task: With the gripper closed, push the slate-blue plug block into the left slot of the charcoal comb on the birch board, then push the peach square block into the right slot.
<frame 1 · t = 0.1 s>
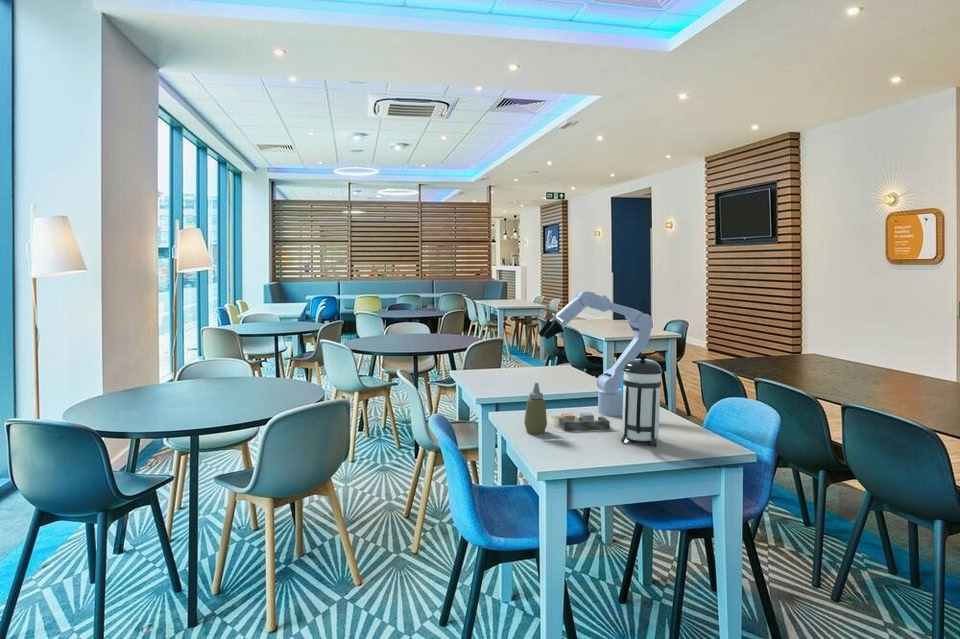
hand: (542, 336, 221), 32 cm above the table, tool tilted 50°, fingers open, 7 cm apart
peach square block: (567, 422, 212), resting on comb board
squeeze bottle: (535, 433, 199), on the table
slate-blue plug: (586, 421, 213), resting on comb board
coffee press: (640, 442, 190), on the table
comb board: (578, 424, 211), on the table
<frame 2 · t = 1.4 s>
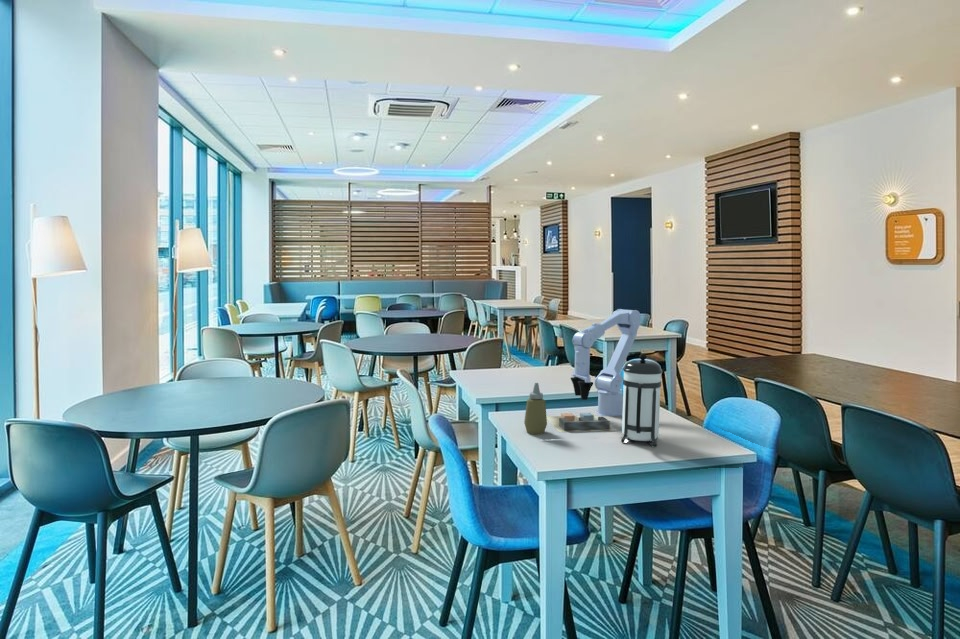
hand: (581, 397, 220), 8 cm above the table, tool pointing down, fingers open, 7 cm apart
nothing on the table moved.
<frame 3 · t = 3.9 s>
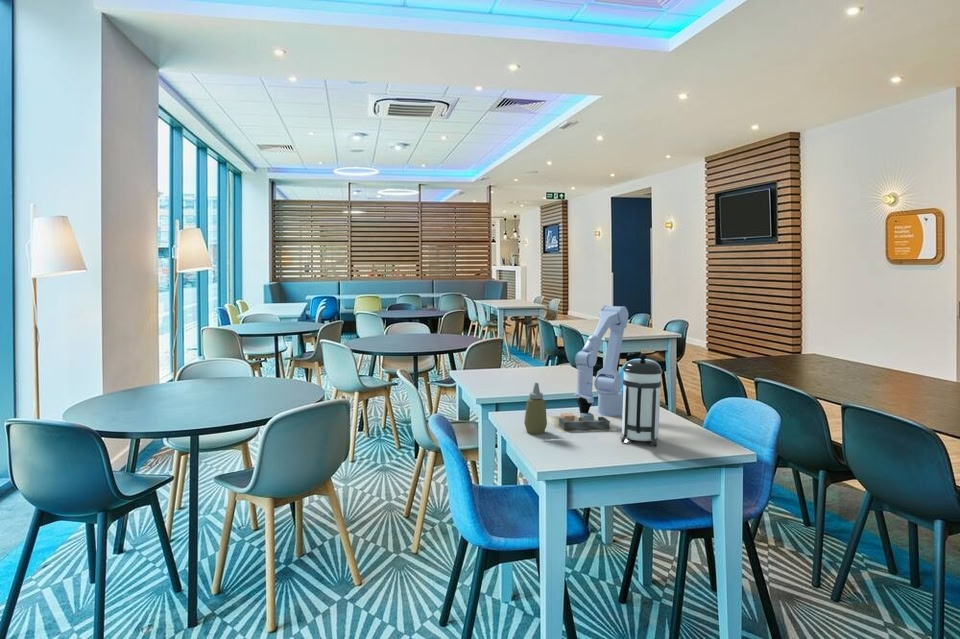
hand: (583, 417, 216), 2 cm above the table, tool pointing down, fingers closed
slate-blue plug: (586, 421, 213), point 1 cm above the table, touching comb board, gripper
everything else where it was.
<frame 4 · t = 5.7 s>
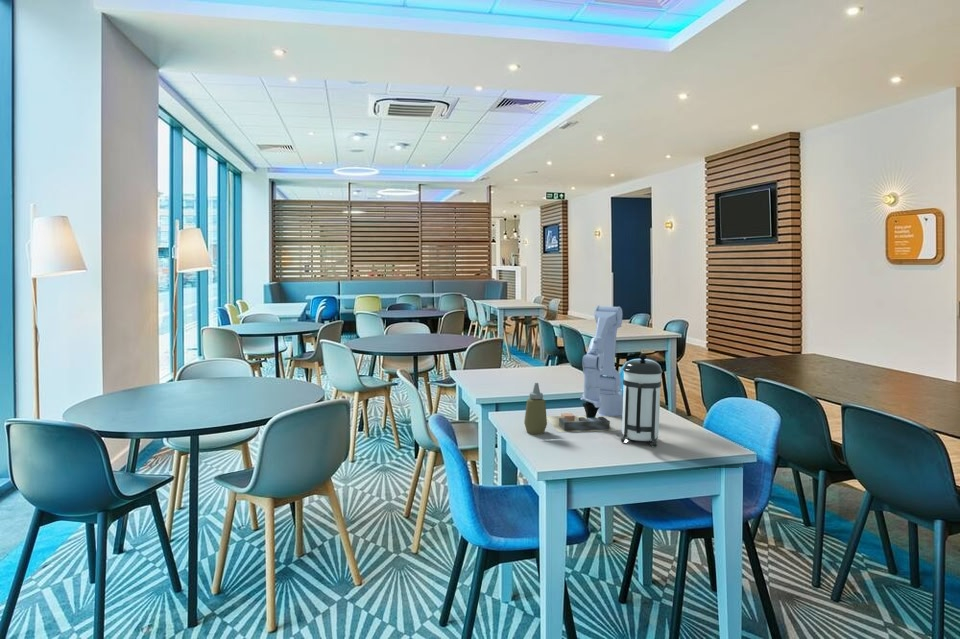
hand: (590, 422, 209), 2 cm above the table, tool pointing down, fingers closed
slate-blue plug: (593, 427, 206), resting on comb board, touching gripper
everything else where it was.
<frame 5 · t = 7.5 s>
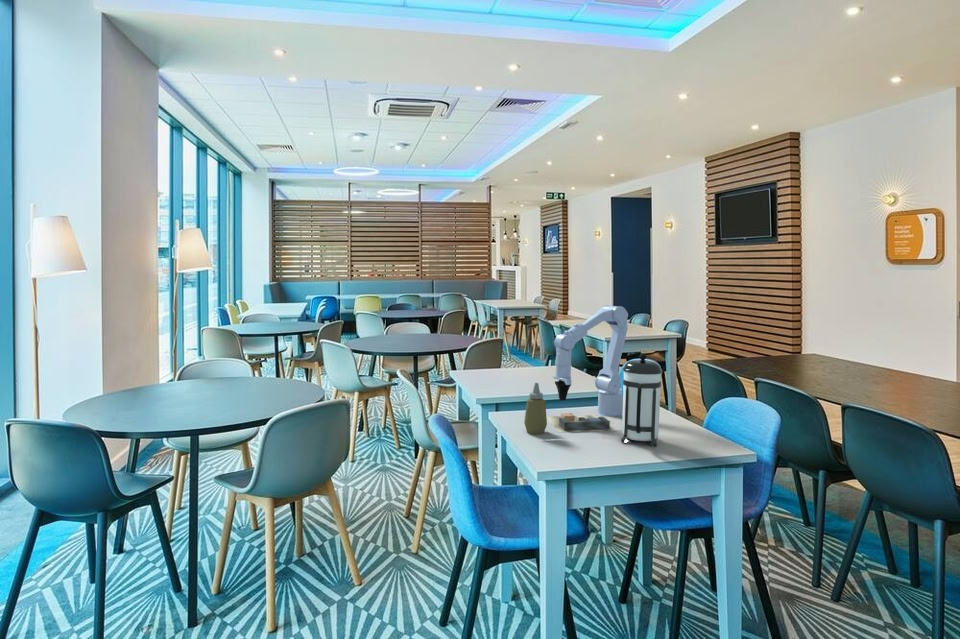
hand: (562, 399, 219), 8 cm above the table, tool pointing down, fingers closed
slate-blue plug: (593, 427, 206), resting on comb board
everything else where it was.
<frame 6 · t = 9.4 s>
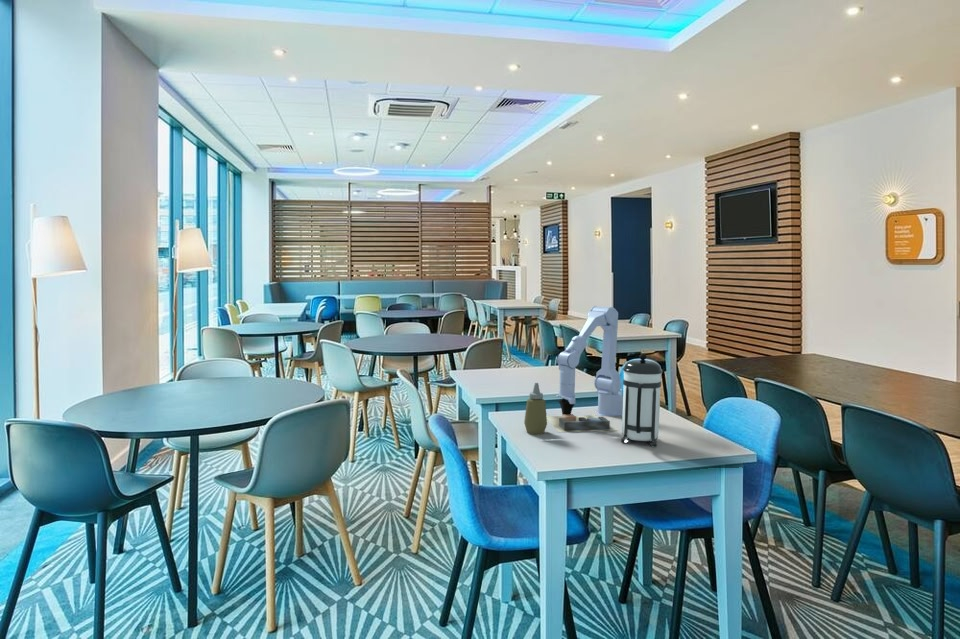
hand: (566, 418, 214), 2 cm above the table, tool pointing down, fingers closed
peach square block: (568, 423, 211), point 1 cm above the table, touching gripper
everything else where it was.
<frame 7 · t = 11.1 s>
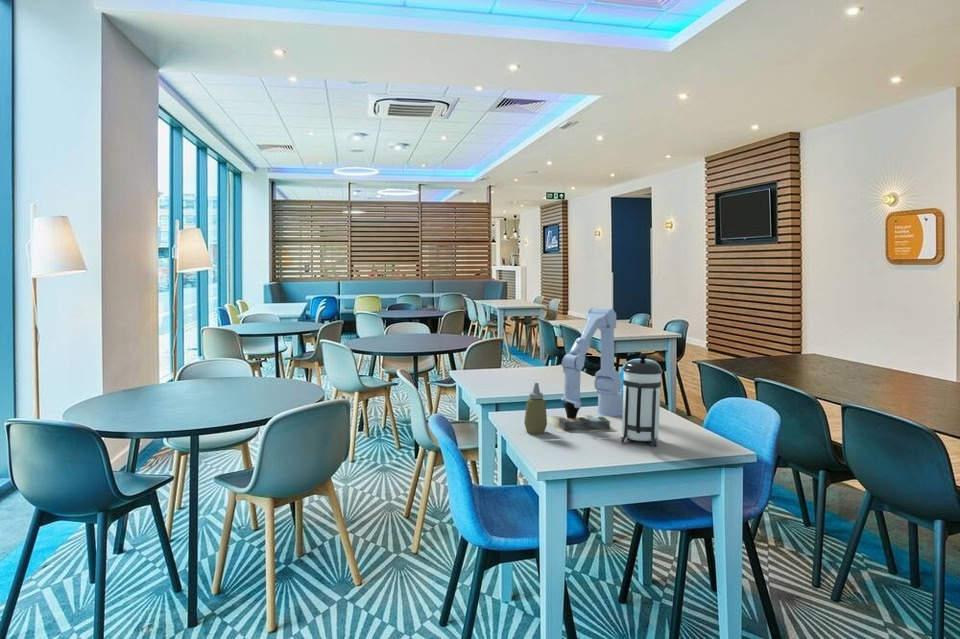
hand: (571, 422, 208), 2 cm above the table, tool pointing down, fingers closed
peach square block: (573, 427, 205), resting on comb board, touching gripper
everything else where it was.
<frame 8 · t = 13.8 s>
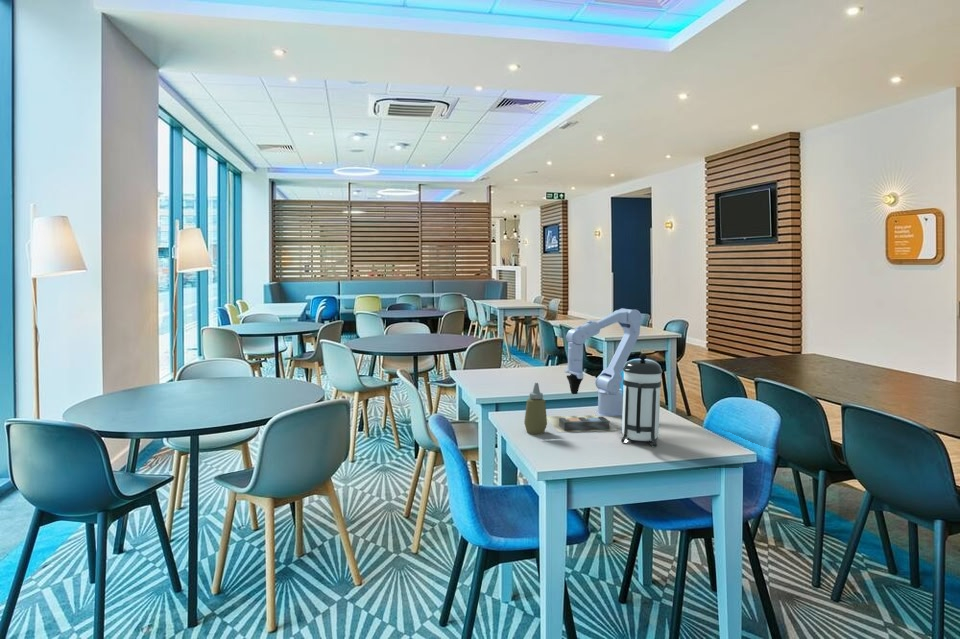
hand: (574, 393, 222), 9 cm above the table, tool pointing down, fingers closed
peach square block: (573, 427, 205), resting on comb board
everything else where it was.
at the end: slate-blue plug 0.8 cm from the target spot, point 0.5 cm above the table; peach square block 0.8 cm from the target spot, point 0.5 cm above the table; peach square block tilted 0° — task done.
